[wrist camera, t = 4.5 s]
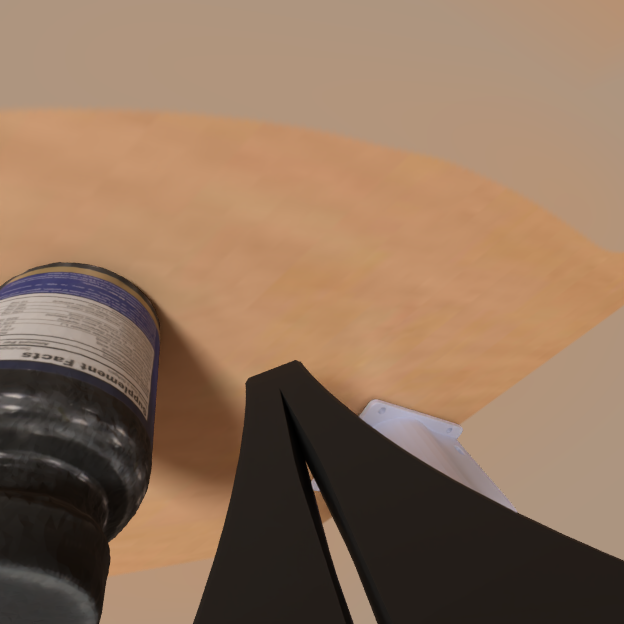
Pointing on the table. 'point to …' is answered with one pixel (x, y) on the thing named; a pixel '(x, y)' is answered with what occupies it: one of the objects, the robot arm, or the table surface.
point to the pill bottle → (71, 434)
